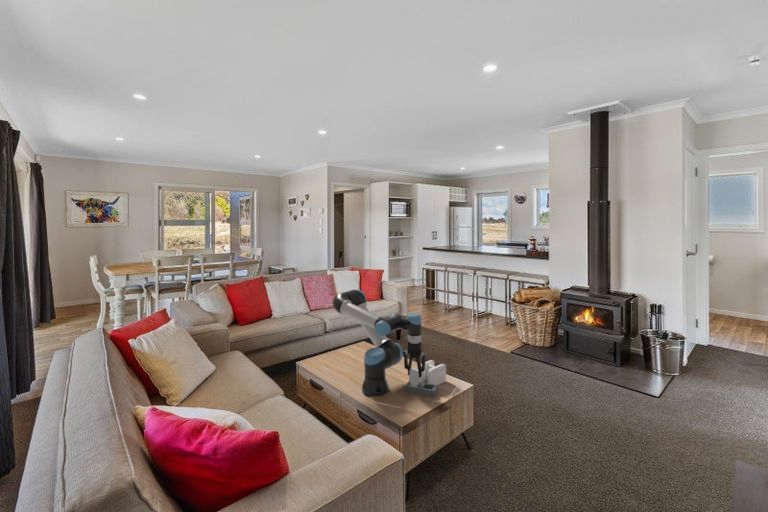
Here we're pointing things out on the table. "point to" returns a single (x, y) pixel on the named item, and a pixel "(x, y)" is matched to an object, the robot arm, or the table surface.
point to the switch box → (422, 389)
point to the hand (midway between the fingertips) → (414, 381)
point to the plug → (413, 377)
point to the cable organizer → (433, 373)
